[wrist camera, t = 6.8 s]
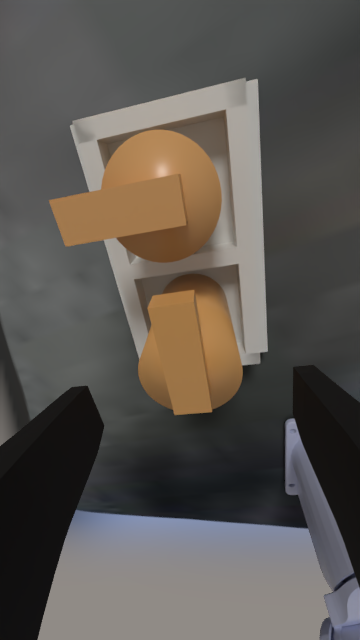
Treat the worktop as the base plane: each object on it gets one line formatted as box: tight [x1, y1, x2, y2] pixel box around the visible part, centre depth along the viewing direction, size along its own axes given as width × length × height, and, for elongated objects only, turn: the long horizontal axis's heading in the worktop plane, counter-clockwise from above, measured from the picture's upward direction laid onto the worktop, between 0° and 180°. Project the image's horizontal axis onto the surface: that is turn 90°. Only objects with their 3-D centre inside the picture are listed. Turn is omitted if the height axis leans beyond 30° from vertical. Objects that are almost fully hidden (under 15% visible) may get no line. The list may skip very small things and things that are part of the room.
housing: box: [49, 78, 268, 365], centre depth 12 cm, size 14×8×7 cm, turn 10°
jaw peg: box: [138, 274, 243, 415], centre depth 12 cm, size 5×4×7 cm
